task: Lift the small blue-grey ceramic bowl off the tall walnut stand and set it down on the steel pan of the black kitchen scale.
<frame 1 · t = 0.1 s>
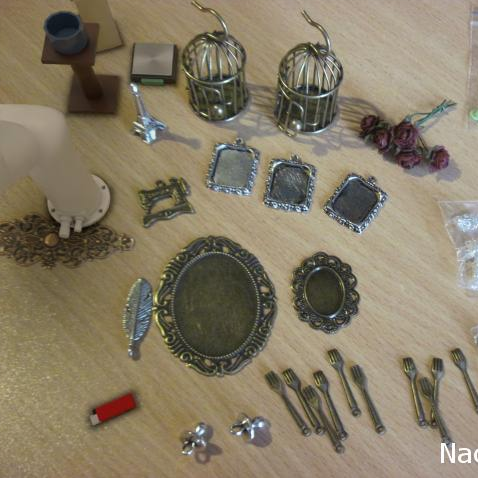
scale: (155, 65, 132), on the table
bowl: (70, 41, 111), point 18 cm above the table, touching stand
lighter: (113, 409, 104), on the table
beige tall block: (102, 37, 134), on the table
stand: (94, 95, 128), on the table
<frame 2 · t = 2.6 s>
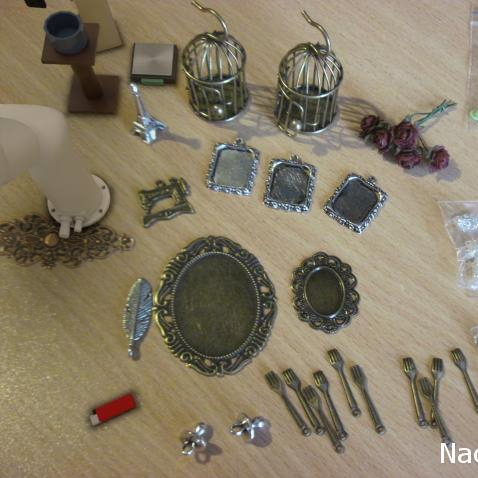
nothing on the table moved.
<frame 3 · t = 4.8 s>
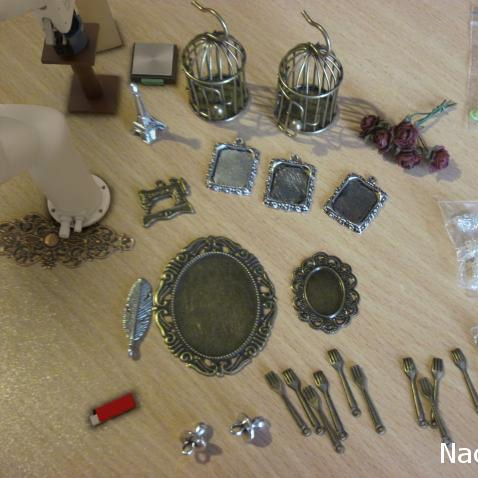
hand: (68, 38, 110), 19 cm above the table, tool pointing down, fingers closed on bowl, 7 cm apart
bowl: (70, 41, 111), point 18 cm above the table, touching gripper, stand
everything else where it was.
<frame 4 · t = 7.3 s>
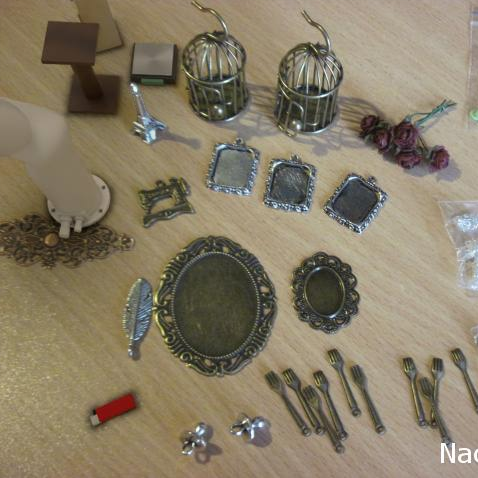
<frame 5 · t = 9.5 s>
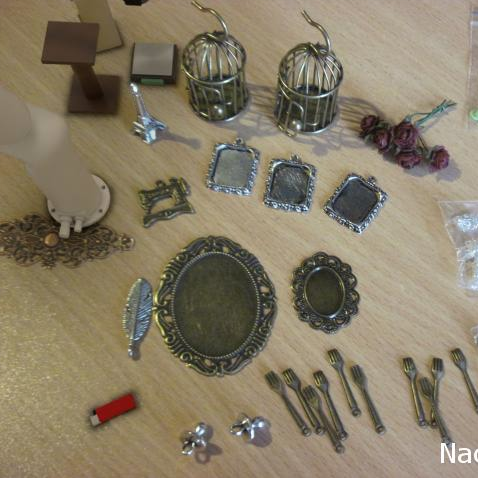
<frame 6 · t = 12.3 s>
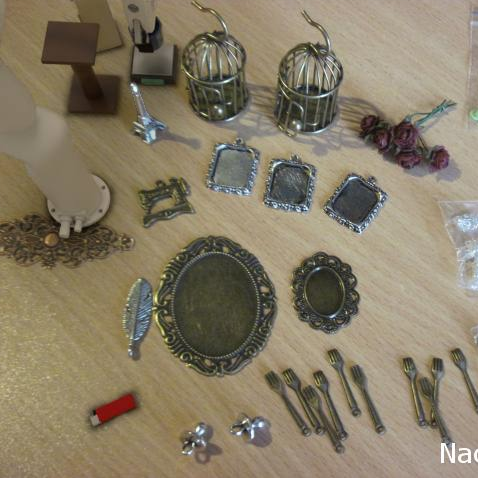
hand: (148, 37, 123), 10 cm above the table, tool pointing down, fingers closed on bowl, 7 cm apart
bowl: (148, 40, 124), point 9 cm above the table, touching gripper
everything else where it was.
when the fingers open (4 cm above the table, at t = 14.4 s): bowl stays where it is, resting on scale.
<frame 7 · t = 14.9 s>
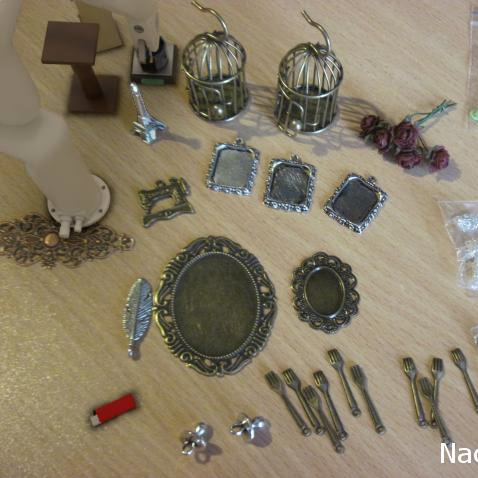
hand: (151, 53, 128), 4 cm above the table, tool pointing down, fingers open, 9 cm apart
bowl: (153, 58, 130), point 3 cm above the table, touching scale
everything else where it was.
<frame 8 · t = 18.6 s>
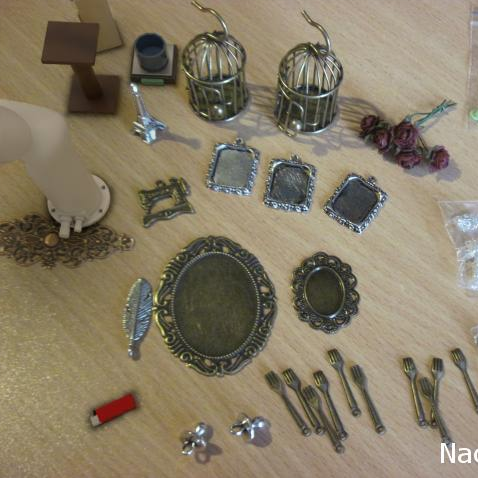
nothing on the table moved.
at the end: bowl 0.1 cm off-centre on the scale, point 2.6 cm above the scale's base; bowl tilted 0°; the gripper is holding nothing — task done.
